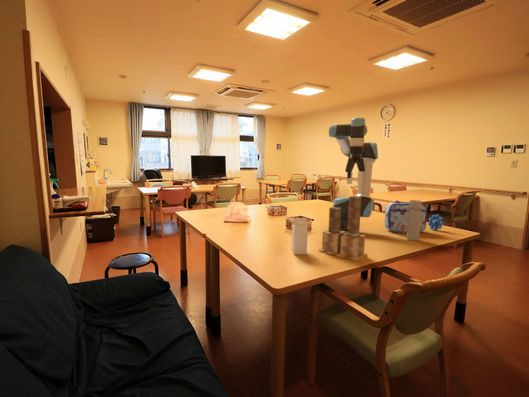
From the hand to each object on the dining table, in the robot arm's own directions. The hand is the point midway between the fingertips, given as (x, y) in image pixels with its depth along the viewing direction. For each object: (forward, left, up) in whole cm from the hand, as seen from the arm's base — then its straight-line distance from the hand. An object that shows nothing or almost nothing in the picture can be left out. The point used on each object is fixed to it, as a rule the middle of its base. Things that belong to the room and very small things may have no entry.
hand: (354, 183), depth 165 cm
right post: (+10, -19, -28) cm, 35 cm away
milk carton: (-14, -34, -37) cm, 52 cm away
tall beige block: (+23, +36, -37) cm, 56 cm away
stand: (+4, -19, -37) cm, 41 cm away
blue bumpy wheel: (+29, +74, -37) cm, 88 cm away
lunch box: (+13, +54, -37) cm, 67 cm away
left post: (-1, -19, -35) cm, 40 cm away
